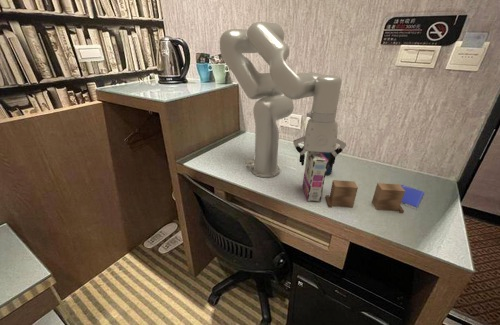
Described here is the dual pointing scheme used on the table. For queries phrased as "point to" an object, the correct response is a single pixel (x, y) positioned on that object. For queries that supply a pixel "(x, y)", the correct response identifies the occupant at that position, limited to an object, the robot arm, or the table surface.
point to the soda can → (329, 169)
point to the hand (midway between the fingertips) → (316, 164)
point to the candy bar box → (314, 175)
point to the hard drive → (411, 197)
